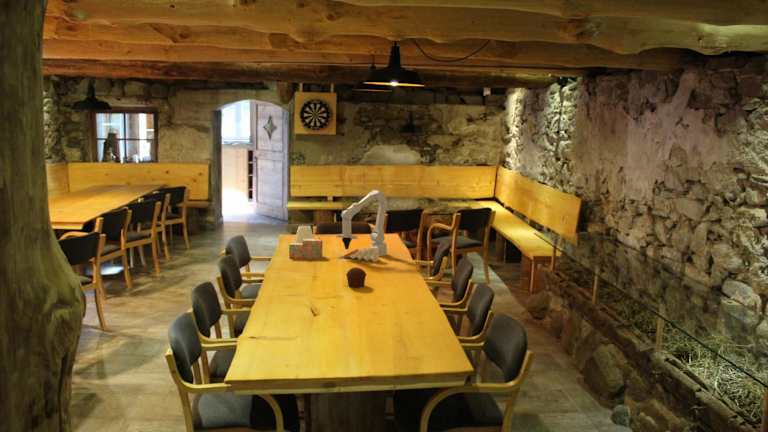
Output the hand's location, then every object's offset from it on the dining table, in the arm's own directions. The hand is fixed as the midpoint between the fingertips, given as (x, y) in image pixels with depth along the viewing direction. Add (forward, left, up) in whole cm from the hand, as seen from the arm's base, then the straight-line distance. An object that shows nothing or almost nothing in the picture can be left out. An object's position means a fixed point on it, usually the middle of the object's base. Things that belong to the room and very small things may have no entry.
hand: (346, 249), depth 401 cm
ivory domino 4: (-12, +17, -6) cm, 21 cm away
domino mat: (-5, +7, -6) cm, 11 cm away
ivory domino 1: (-3, +4, -5) cm, 7 cm away
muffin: (+28, +59, -7) cm, 65 cm away
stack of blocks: (+21, -18, -7) cm, 28 cm away
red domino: (0, -1, -5) cm, 5 cm away
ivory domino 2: (-6, +8, -5) cm, 11 cm away
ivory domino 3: (-8, +12, -6) cm, 16 cm away
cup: (+6, -51, -7) cm, 52 cm away
